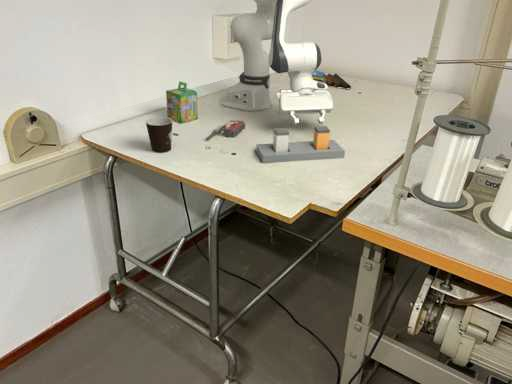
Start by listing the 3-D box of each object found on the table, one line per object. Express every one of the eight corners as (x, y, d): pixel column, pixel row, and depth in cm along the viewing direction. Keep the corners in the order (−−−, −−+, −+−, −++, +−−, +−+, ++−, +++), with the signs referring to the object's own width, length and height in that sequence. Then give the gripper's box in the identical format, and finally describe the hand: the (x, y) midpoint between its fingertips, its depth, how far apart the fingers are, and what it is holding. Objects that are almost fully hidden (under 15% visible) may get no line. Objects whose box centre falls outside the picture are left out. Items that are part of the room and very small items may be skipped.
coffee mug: (162, 156, 135) (159, 127, 130) (143, 150, 139) (140, 121, 134) (185, 145, 144) (183, 117, 139) (167, 140, 148) (164, 113, 143)
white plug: (275, 158, 136) (276, 132, 132) (272, 153, 139) (273, 128, 135) (287, 157, 137) (288, 132, 132) (283, 153, 140) (285, 127, 136)
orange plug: (315, 155, 139) (318, 130, 135) (312, 151, 142) (314, 126, 138) (327, 155, 140) (330, 130, 135) (323, 150, 143) (326, 125, 139)
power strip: (262, 163, 132) (263, 156, 131) (256, 151, 141) (256, 144, 140) (344, 157, 138) (345, 150, 137) (332, 146, 147) (333, 139, 145)
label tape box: (324, 95, 206) (327, 70, 200) (321, 97, 203) (323, 72, 197) (308, 92, 210) (310, 68, 204) (305, 94, 207) (307, 69, 201)
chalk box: (167, 118, 168) (164, 82, 161) (184, 113, 174) (182, 78, 167) (181, 124, 163) (178, 86, 156) (198, 119, 169) (197, 82, 162)
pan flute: (350, 90, 218) (338, 79, 240) (351, 83, 216) (338, 73, 238) (304, 90, 216) (296, 78, 238) (305, 83, 214) (296, 72, 236)
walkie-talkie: (226, 125, 165) (204, 142, 148) (226, 114, 162) (203, 130, 146) (246, 128, 162) (226, 146, 145) (247, 117, 160) (226, 134, 143)
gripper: (277, 85, 147) (283, 120, 143) (331, 84, 151) (338, 118, 147) (273, 94, 153) (279, 128, 149) (325, 93, 157) (332, 126, 153)
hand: (309, 123), depth 148 cm, fingers open, 8 cm apart
